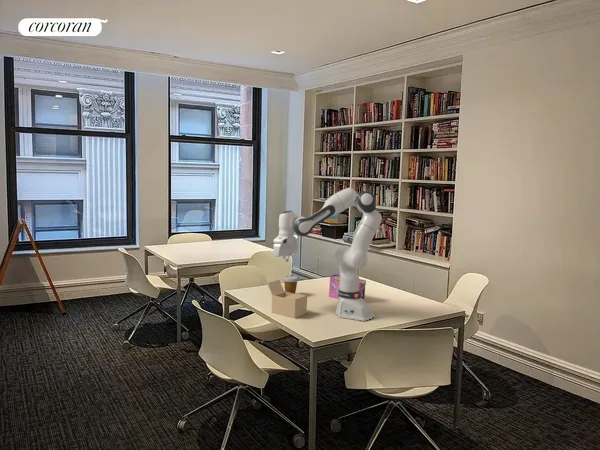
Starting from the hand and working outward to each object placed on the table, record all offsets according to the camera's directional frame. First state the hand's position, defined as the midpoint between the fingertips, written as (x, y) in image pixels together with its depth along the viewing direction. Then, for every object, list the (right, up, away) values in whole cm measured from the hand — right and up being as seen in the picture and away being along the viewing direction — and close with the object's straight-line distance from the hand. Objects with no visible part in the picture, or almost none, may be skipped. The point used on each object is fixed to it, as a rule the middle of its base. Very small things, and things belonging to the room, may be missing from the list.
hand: (286, 261), depth 290 cm
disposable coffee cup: (+2, -24, +32) cm, 40 cm away
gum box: (+38, -26, +31) cm, 56 cm away
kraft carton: (+2, -29, -7) cm, 30 cm away
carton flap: (-6, -15, -2) cm, 16 cm away
